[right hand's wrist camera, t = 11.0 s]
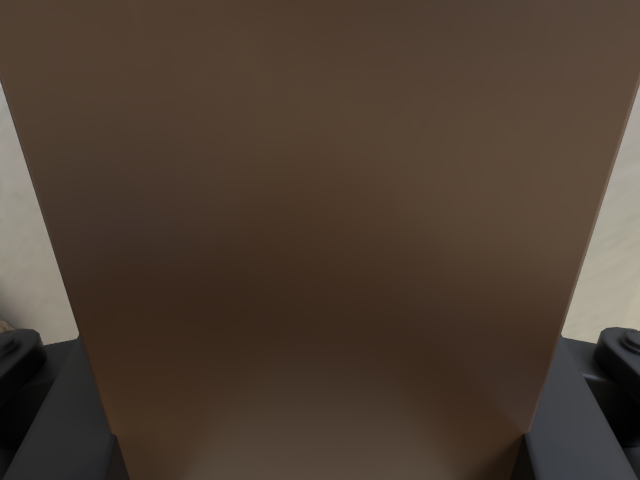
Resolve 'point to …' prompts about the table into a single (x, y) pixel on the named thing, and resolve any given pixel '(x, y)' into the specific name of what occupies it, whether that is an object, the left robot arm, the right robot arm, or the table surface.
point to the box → (320, 218)
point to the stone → (5, 326)
